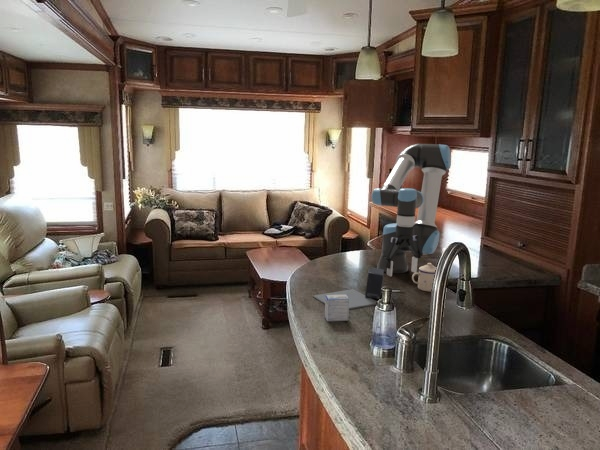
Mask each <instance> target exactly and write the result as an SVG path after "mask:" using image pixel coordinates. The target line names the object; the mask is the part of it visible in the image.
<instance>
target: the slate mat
mask: <svg viewBox="0 0 600 450" xmlns="http://www.w3.org/2000/svg"><path fill="white" fill-rule="evenodd" d="M326 295H347V297H348V298H349V310H353V309H360V308H364V307H370V306H376V302H378V301H377V300H376V299H374V298H369V297H365V294H363V293H362V292H360V291H358V290H356V289H354V288H350V289H345V290H339V291H334V292H332V291H331V292H327V293H321V294H315V295H314V294H313V295H312V297H313V298H314V299H316V300H317V301H319V302H320V303H322V304H324V305H325V298H326Z"/></svg>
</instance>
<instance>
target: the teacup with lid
mask: <svg viewBox="0 0 600 450" xmlns="http://www.w3.org/2000/svg"><path fill="white" fill-rule="evenodd" d="M436 268H437V267H436V266H434V265H433V263H431V262H427V264H424V265H422V266H420V267H419V268H418V272H417V273H414V272H413V274H412V276H411V280H412V281H413V283H414V284H417V288H418V290H420V291H423V292H431V289H432V283H433V279H434V275H435V270H436ZM416 275H418V280H417V281H416V280H415V276H416Z"/></svg>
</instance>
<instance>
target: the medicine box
mask: <svg viewBox="0 0 600 450" xmlns="http://www.w3.org/2000/svg"><path fill="white" fill-rule="evenodd" d="M324 306H325V307H324V319H325V320H326V322H344V321H346V322H347V321H349V313H350V312H349V310H350V309H349V298H348V297H347V295H326V298H325V304H324Z"/></svg>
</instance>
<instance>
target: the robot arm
mask: <svg viewBox="0 0 600 450" xmlns="http://www.w3.org/2000/svg"><path fill="white" fill-rule="evenodd" d="M451 166H452V153H451V148H450V146H449V145H447V144H441V143H439V144H436V143H414V144H411V145H409V146H408V147H406V148H404V149H403V150H401V152H400V153H399V154H398V156H397V157H396V158H395V164H394V166H393V168H392V169H391V171H390V172H389V174H388V176H387V178H386V180H385V181H384V183H383V184H382V186H381V187H378V188H377V187H375V188H373V190H372V193H371V201H372V204H373V205H376V206H380V207H381V206H384V207H393V208H394V207H396V209H397V210H396V212H397V213H396V222H395V223H394V222H393V223H388V224H385V225H384V226H383V230H382V245H381V254H380V257H379V260H378V262H377V267H376V268H378V269H384V273H386V276H389V277H392V276H393V274H404V273H408V271H409V264H408V259H407V256H406V252H411V254H412V255H413V256H412V257H411V269H410V271H411V272H412V273H413V274H414V273H418V265H419V260H420V259H421V257H422V256H423V255H425V254H426V255H427V254H428V255H431V254H434V253H435V252H436V249H437V248H438V244H439V241H440V236H441V233H440V231H439V229H438V226H437V225H436V223H435V222H436V216H437V210H438V205H439V196H440V191H441V185H442V179H443V178H442V177H443V176H444V175H445V174H446V173H447V170H450V169H451ZM414 168H421V171H422V173H423V179H422V185H421V190H417V189H416V188H412V187H411V188H409V187H408V188H407V187H404V188H401V187H402V186H403V183H404V182H405V181H406V178H407V176H408V174H409V173H410V172H411V171H412V170H414ZM416 209H417V210H418V211H417V210H416ZM416 211H417V214H416ZM416 215H417V216H416Z"/></svg>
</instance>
